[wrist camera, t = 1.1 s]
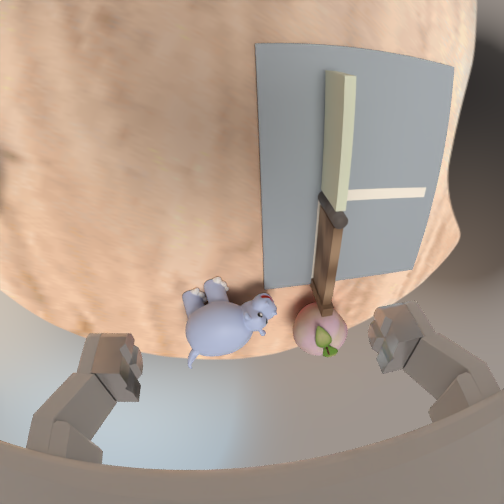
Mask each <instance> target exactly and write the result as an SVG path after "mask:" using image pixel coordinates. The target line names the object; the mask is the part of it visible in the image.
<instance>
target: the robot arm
mask: <svg viewBox="0 0 504 504" xmlns="http://www.w3.org/2000/svg"><path fill="white" fill-rule="evenodd" d="M374 317H375V320H374V321H373V322H372V323H371V324H370V327H369V331H368V333H369V334H368V336H369V342H370V345H371V347H372V349H373V350H375V351H376V352H377V353H378V356H377V361H378V364H379V366H380V369H381V371H382V373H383V374H384V373H388V372H393V371H397V370H401V369H403V371H404V372H406V373H407V374H408V375H409V376H410V377H411V378H413V379H414V380H415V381H416V382H417V383H418V384H419V385H421V386H422V387H423V388H424V389H425V390H426V391H427V392H429V393H430V394H431V395H432V396H433V397H434V398H435V399H436V400H437V401H436V402H435V403H434V404H433V406H431V407H430V409H429V411H428V413H429V415H430V418H431V420H432V423H431V424H429V425H426V426H423V427H421V428H418V429H416V430H413V431H410V432H407V433H404V434H402V435H399V436H396V437H393V438H390V439H386V440H383V441H380V442H377V443H373V444H370V445H366V446H363V447H359V448H355V449H352V450H347V451H343V452H339V453H335V454H330V455H326V456H321V457H316V458H311V459H305V460H299V461H294V462H287V463H281V464H273V465H265V466H256V467H245V468H233V469H215V470H162V469H161V470H160V469H144V468H131V467H121V466H112V465H104V464H102V454H103V451H102V450H101V449H100V448H99V447H98V446H96V445H95V444H94V443H93V442H91V439H92V438H93V436H94V435H95V433H96V432H97V430H98V429H99V427H100V426H101V425H102V423H103V422H104V420H105V419H106V418H107V416H108V415H109V413H110V412H111V410H112V409H113V407H114V406H115V405H116V403H117V401H118V402H139V396H140V388H141V385H140V383H139V381H138V380H137V379H138V378H139V377H140V376H141V374H142V370H143V362H142V355H141V352H140V350H139V348H138V347H136V346H135V345H134V338H133V336H132V334H130V333H90V334H89V335H88V336H87V338H86V341H85V344H84V348H83V351H82V355H81V358H80V362H79V366H78V370H77V373H73V374H72V375H71V376H70V377H69V378H68V379H67V380H66V381H65V382H64V383H63V384H62V385H61V386H60V387H59V388H58V389H57V390H56V391H55V392H54V393H53V394H52V395H51V396H50V398H49V399H48V400H47V401H46V402H45V403H44V404H43V405H42V406H41V407H40V408H39V409H38V410H37V412H36V413H35V414H34V415H33V418H32V422H31V427H30V431H29V436H28V441H27V446H26V448H23V447H20V446H16V445H13V444H10V443H7V442H4V441H1V440H0V504H504V389H502V390H500V388H499V386H498V384H497V382H496V380H495V378H494V377H493V375H492V373H491V371H490V369H489V367H488V366H487V364H486V363H485V362H484V361H482V360H481V359H479V358H478V357H476V356H475V355H473V354H472V353H470V352H469V351H467V350H465V349H464V348H462V347H461V346H459V345H458V344H456V343H455V342H453V341H451V340H450V339H448V338H447V337H445V336H444V335H442V334H440V333H437V334H436V332H435V330H434V329H433V327H432V326H431V324H430V322H429V320H428V319H427V317H426V315H425V314H424V312H423V311H422V309H421V307H420V306H419V304H418V303H417V302H416V301H415V300H414V301H409V302H404V303H398V304H392V305H387V306H382V307H378V308H377V309H376V310H375V312H374Z"/></svg>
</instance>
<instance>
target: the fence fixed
mask: <svg viewBox="0 0 504 504" xmlns="http://www.w3.org/2000/svg"><path fill="white" fill-rule="evenodd" d="M318 200H319V202H320V204H321V205H320V212H319V224H318V235H317V246H316V256H315V266H314V275H313V278H311V288H312V291H313V294H314V297H315V300H316V302H317V305H318V308H319V311H320V314H321V317H326V316H332V315H333V310H334V307H333V304H332V302H331V301H332V296H333V290H334V285H335V279H336V273H337V267H338V261H339V255H340V248H341V242H342V235H343V228H344V227H346V225H347V224H348V218H347V217H346V215H345V214H344V212H343V211H337V212H336V211H335V210H334V208H333V207H332V205H331V204H330V202H329V201H328V199H327V198H326V196H325V195H324V193H323V192H322V191H321V192H320V193H319V194H318Z"/></svg>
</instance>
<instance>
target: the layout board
mask: <svg viewBox="0 0 504 504" xmlns="http://www.w3.org/2000/svg"><path fill="white" fill-rule="evenodd" d="M255 56H256V77H257V99H258V122H259V147H260V173H261V201H262V231H263V264H264V289H274V288H282V287H291V286H299V285H307V284H311V278H313V275H314V266H315V256H316V246H317V235H318V224H319V212H320V205H321V204H320V202H319V200H318V194H319V193H320V192H321V191H322V190H321V184H322V167H323V148H324V123H325V70H329V71H338V72H342V73H346V74H350V75H354V76H356V100H355V118H354V133H353V146H352V158H351V168H350V178H349V188H348V196H347V205H346V211H343V212H344V214H345V215H346V217H347V218H348V224H347V225H346V227H344V228H343V235H342V242H341V248H340V255H339V261H338V267H337V273H336V279H335V281H338V280H345V279H352V278H359V277H366V276H373V275H380V274H386V273H393V272H399V271H406V270H412V269H413V266H414V263H415V260H416V257H417V254H418V251H419V248H420V245H421V242H422V238H423V235H424V232H425V228H426V225H427V221H428V217H429V214H430V210H431V206H432V202H433V198H434V194H435V190H436V186H437V181H438V177H439V172H440V167H441V162H442V157H443V152H444V147H445V141H446V135H447V128H448V122H449V114H450V107H451V98H452V88H453V77H454V67H451V66H448V65H444V64H440V63H436V62H432V61H428V60H424V59H420V58H415V57H410V56H405V55H400V54H395V53H389V52H383V51H377V50H370V49H362V48H354V47H345V46H334V45H320V44H298V43H258V44H255Z"/></svg>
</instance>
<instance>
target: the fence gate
mask: <svg viewBox="0 0 504 504" xmlns="http://www.w3.org/2000/svg"><path fill="white" fill-rule="evenodd" d="M355 100H356V76H354V75H350V74H346V73H342V72H338V71H329V70H325V123H324V148H323V167H322V184H321V190H322V192H323V193H324V195H325V196H326V198H327V199H328V201H329V202H330V204H331V205H332V207H333V208H334V210H335V211H336V212H337V211H346V205H347V196H348V188H349V178H350V168H351V158H352V146H353V133H354V118H355Z"/></svg>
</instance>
